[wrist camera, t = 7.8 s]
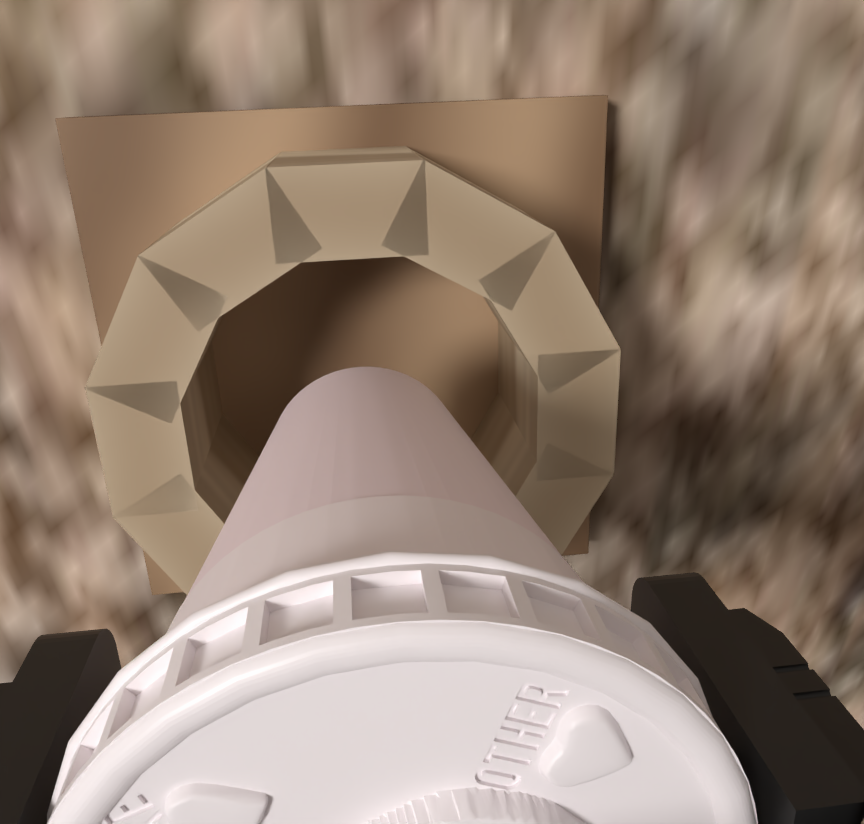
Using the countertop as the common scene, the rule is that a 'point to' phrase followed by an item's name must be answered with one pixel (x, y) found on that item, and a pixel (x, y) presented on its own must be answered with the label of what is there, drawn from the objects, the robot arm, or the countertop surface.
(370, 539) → the smoothie
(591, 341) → the bottle holder
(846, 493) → the countertop surface
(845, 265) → the countertop surface
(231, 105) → the countertop surface
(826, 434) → the countertop surface
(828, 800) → the robot arm
